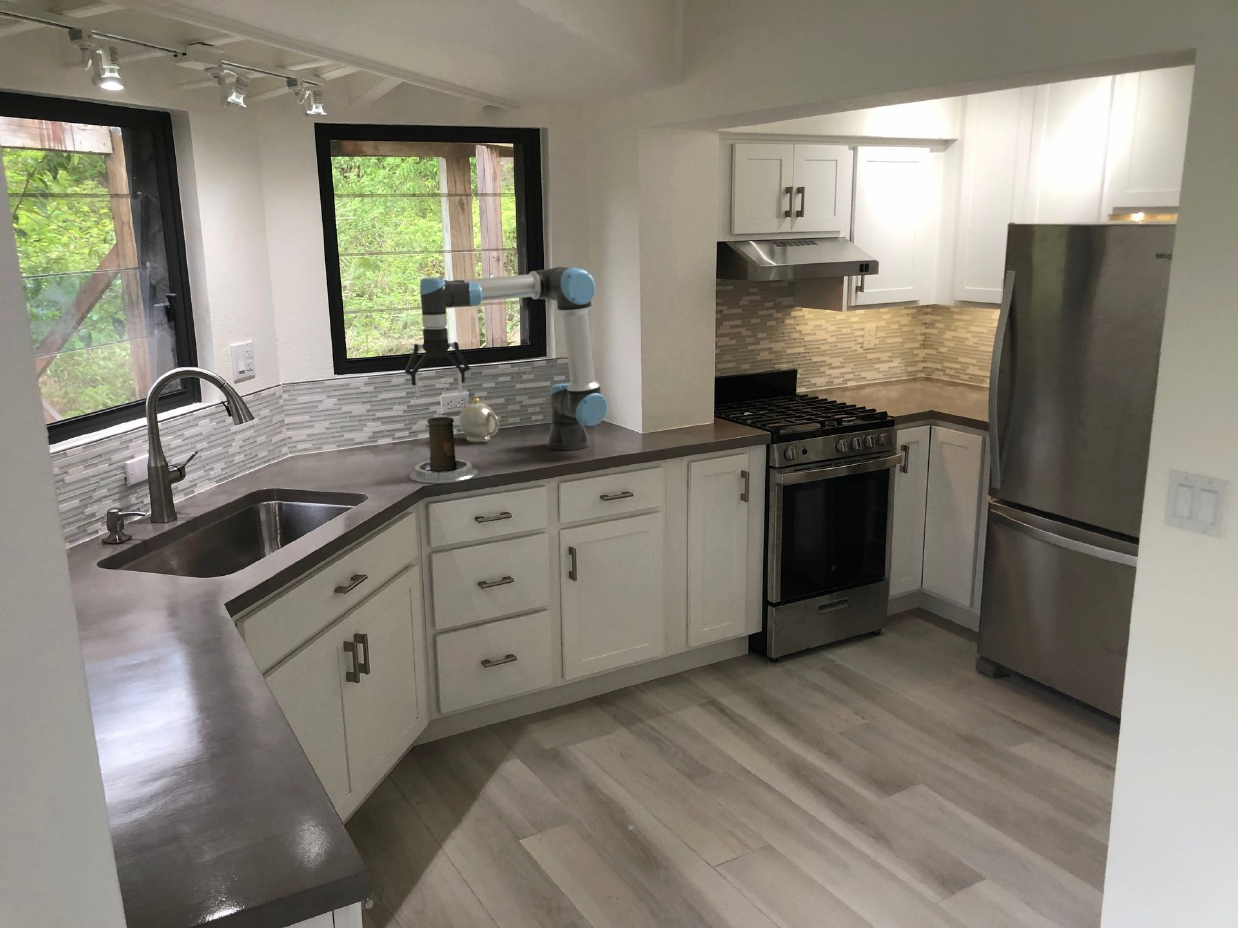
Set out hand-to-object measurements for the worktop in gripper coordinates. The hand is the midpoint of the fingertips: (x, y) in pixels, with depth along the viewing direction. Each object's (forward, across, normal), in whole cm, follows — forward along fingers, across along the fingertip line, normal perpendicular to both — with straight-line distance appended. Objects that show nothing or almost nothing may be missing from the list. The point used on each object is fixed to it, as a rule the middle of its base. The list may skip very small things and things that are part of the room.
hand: (439, 394), depth 310 cm
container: (+26, 0, 0) cm, 26 cm away
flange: (+27, 0, 0) cm, 27 cm away
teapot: (+27, -19, -46) cm, 56 cm away
